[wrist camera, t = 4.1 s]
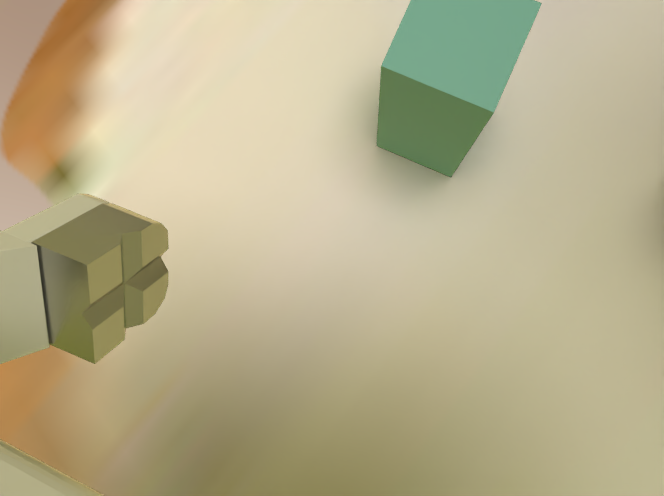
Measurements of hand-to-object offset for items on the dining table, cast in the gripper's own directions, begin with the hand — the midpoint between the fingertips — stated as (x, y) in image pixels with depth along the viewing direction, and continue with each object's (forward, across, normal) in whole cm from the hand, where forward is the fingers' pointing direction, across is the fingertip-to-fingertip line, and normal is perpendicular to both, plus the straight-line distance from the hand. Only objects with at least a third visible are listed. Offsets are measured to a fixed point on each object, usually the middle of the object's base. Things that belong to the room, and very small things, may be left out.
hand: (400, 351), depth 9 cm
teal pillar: (+27, +6, +6) cm, 28 cm away
